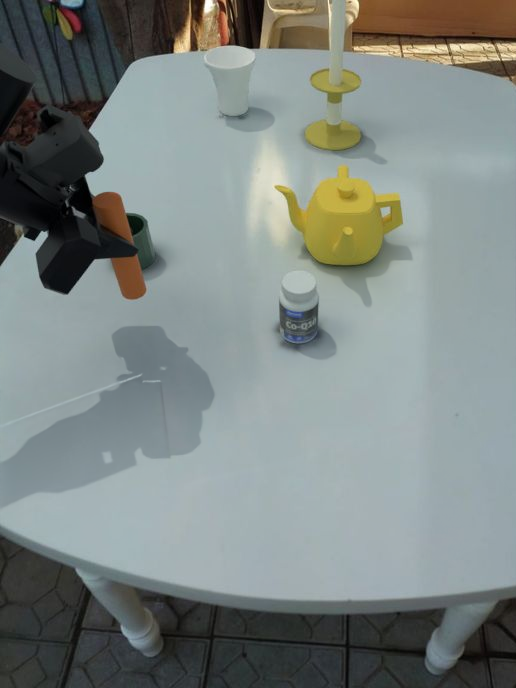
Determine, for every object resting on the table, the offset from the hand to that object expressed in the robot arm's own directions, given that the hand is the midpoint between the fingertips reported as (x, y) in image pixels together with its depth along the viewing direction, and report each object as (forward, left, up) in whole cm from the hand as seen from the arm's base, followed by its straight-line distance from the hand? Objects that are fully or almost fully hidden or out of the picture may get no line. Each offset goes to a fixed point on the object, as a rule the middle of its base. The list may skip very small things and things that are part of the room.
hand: (133, 243), depth 63 cm
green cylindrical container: (-1, +14, -14) cm, 20 cm away
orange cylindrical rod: (-1, 0, -7) cm, 7 cm away
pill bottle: (+17, -5, -14) cm, 22 cm away
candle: (+36, +38, -14) cm, 54 cm away
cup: (+21, +51, -14) cm, 57 cm away
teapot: (+27, +9, -14) cm, 31 cm away
